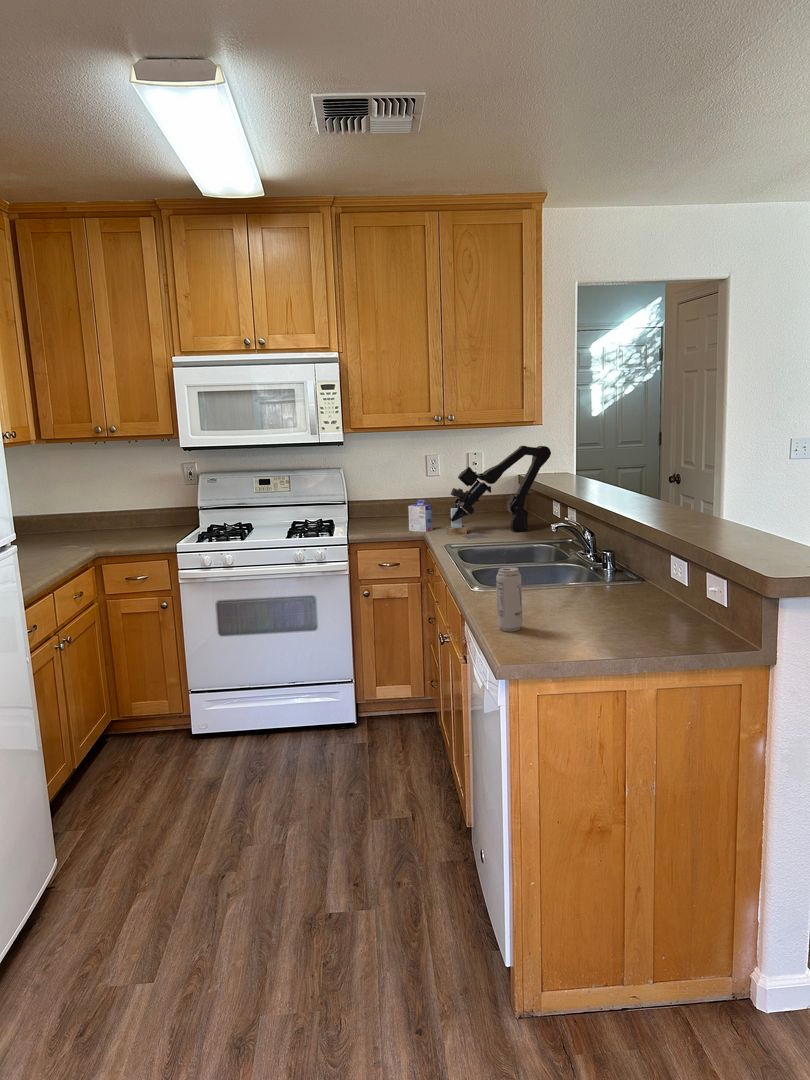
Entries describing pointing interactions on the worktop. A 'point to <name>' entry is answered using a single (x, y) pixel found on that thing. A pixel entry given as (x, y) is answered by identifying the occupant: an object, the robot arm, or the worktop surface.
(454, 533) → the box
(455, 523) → the pale blue rectangular block
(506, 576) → the energy drink can
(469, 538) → the mat
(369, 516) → the worktop surface
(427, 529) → the ink cartridge box
